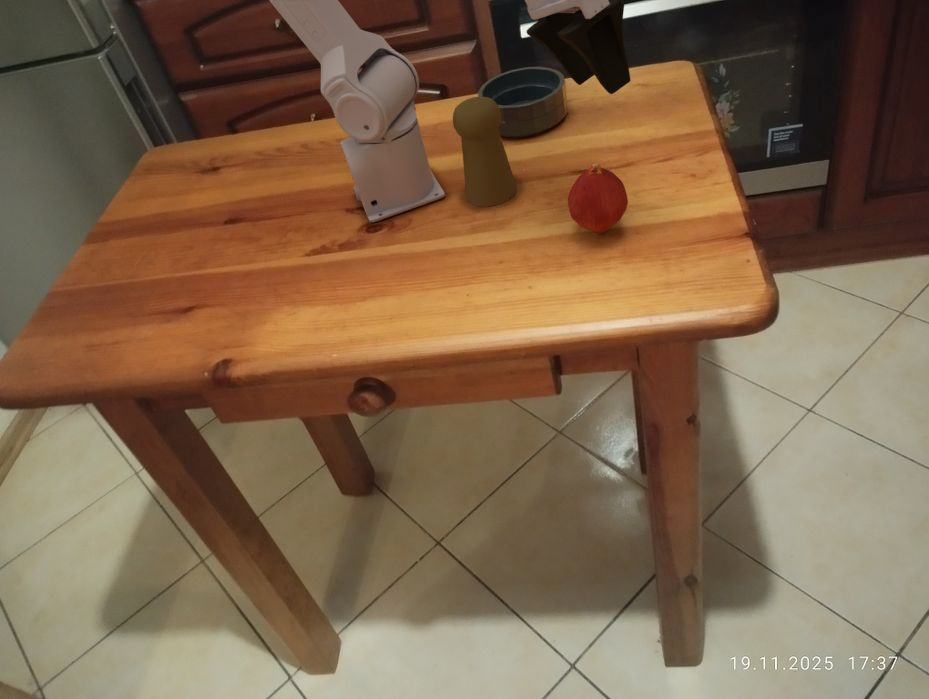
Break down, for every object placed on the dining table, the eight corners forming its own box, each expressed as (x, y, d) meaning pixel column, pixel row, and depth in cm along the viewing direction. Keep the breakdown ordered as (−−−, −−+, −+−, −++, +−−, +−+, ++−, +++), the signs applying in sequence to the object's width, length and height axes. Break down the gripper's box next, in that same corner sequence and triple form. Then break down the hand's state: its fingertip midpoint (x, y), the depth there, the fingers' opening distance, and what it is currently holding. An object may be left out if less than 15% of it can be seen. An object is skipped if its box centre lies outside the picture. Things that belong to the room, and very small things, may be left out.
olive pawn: (457, 190, 81) (437, 103, 73) (502, 171, 82) (486, 83, 74) (479, 213, 76) (459, 122, 69) (526, 192, 77) (511, 101, 70)
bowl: (501, 149, 86) (495, 116, 82) (473, 116, 94) (466, 85, 90) (582, 121, 87) (579, 87, 83) (547, 90, 95) (543, 58, 91)
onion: (561, 228, 71) (553, 160, 66) (610, 208, 72) (606, 140, 67) (587, 256, 67) (581, 186, 62) (639, 235, 68) (637, 164, 62)
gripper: (608, -100, 51) (676, 63, 57) (544, -80, 63) (606, 52, 70) (530, -42, 51) (607, 113, 58) (483, -33, 64) (550, 93, 70)
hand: (602, 82), depth 64 cm, fingers open, 7 cm apart
